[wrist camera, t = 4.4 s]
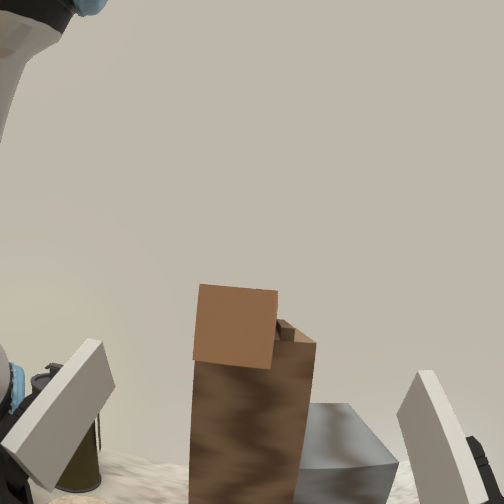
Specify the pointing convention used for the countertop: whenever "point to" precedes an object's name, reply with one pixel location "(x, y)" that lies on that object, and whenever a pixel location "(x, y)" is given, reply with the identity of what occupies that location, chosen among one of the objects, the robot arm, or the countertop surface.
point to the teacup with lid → (77, 500)
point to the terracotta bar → (235, 326)
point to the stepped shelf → (280, 436)
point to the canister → (85, 457)
